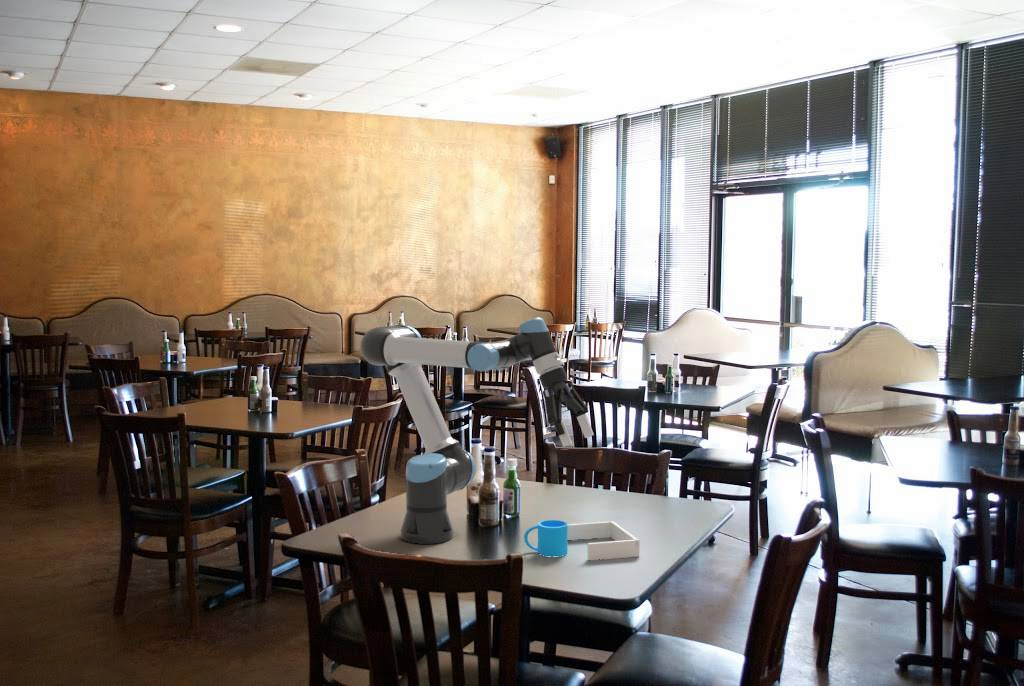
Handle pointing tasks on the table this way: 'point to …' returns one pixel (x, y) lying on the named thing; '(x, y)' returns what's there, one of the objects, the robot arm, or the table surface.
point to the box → (619, 548)
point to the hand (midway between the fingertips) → (579, 441)
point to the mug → (550, 538)
